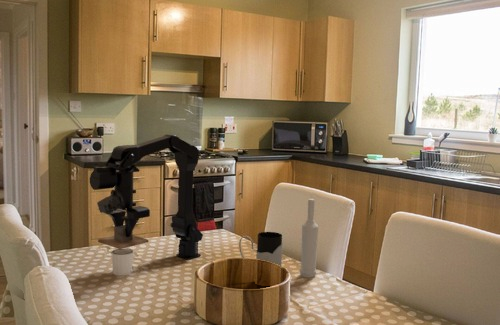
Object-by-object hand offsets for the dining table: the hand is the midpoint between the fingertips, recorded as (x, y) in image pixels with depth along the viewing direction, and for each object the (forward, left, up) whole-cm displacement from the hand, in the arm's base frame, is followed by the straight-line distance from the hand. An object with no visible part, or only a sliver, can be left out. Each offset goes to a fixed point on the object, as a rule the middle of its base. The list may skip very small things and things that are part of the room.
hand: (123, 235), depth 163 cm
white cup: (0, 0, -12) cm, 12 cm away
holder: (-25, +36, -12) cm, 45 cm away
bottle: (-40, +44, -12) cm, 60 cm away
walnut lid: (0, 0, -2) cm, 2 cm away
